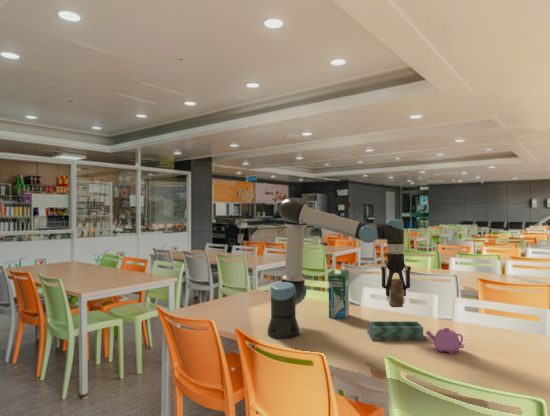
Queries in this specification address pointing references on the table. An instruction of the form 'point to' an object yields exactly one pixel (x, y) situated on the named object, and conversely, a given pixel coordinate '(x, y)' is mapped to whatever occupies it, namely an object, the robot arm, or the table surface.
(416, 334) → the green tray
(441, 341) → the teapot
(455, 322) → the table surface
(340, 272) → the milk carton
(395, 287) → the walnut block
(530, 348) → the table surface
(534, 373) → the table surface
